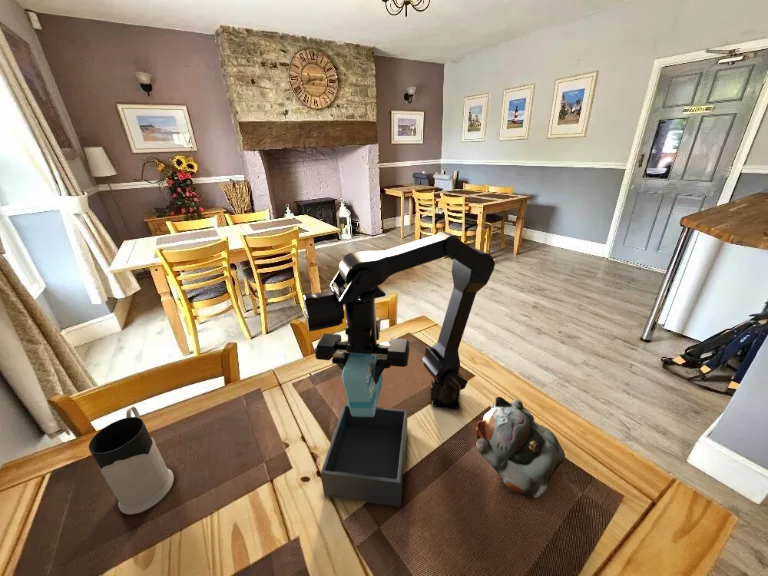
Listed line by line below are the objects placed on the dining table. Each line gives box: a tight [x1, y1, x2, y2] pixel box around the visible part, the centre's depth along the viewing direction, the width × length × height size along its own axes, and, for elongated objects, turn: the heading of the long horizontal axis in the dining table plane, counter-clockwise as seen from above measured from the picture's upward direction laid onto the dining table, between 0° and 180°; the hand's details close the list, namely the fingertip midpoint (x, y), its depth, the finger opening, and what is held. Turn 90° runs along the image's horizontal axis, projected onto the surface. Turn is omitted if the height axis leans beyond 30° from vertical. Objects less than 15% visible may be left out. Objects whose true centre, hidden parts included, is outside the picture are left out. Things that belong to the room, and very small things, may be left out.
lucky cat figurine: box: [475, 396, 566, 499], centre depth 61 cm, size 15×12×14 cm
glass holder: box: [88, 405, 175, 515], centre depth 59 cm, size 9×14×15 cm, turn 27°
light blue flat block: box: [341, 353, 383, 417], centre depth 66 cm, size 12×4×12 cm, turn 171°
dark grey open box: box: [320, 404, 408, 508], centre depth 62 cm, size 14×16×7 cm
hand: (364, 381), depth 66 cm, fingers closed on light blue flat block, 5 cm apart
